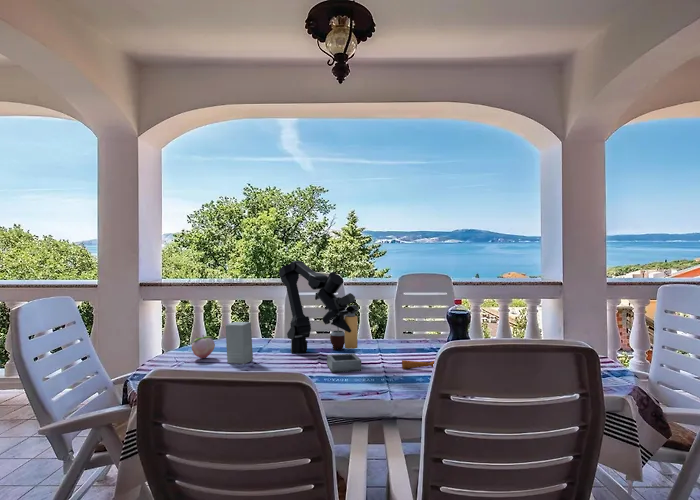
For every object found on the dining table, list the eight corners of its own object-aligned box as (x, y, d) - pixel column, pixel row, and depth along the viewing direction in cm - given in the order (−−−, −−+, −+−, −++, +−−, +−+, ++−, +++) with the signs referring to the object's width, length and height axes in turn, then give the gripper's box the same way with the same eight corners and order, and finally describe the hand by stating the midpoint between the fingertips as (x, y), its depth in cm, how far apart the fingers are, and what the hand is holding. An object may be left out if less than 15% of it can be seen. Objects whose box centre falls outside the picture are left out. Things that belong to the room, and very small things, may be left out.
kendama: (403, 356, 161) (456, 355, 157) (403, 372, 160) (457, 371, 156) (401, 357, 156) (456, 355, 151) (401, 373, 155) (457, 372, 150)
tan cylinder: (346, 349, 159) (346, 315, 159) (343, 346, 164) (343, 313, 164) (359, 348, 160) (359, 314, 160) (355, 345, 165) (355, 312, 165)
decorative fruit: (204, 355, 178) (205, 331, 179) (218, 357, 174) (218, 333, 174) (186, 359, 170) (186, 335, 171) (199, 362, 166) (199, 337, 166)
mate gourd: (339, 351, 185) (339, 317, 185) (325, 349, 190) (325, 316, 190) (349, 348, 191) (349, 315, 191) (335, 346, 196) (335, 314, 196)
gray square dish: (332, 373, 152) (332, 362, 152) (326, 365, 162) (326, 354, 162) (361, 371, 154) (361, 360, 154) (354, 363, 165) (354, 353, 165)
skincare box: (253, 360, 169) (253, 321, 169) (243, 365, 162) (243, 324, 162) (235, 359, 172) (235, 320, 172) (224, 363, 165) (224, 323, 165)
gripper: (329, 288, 156) (354, 320, 150) (354, 285, 172) (378, 314, 166) (312, 308, 160) (336, 340, 154) (338, 303, 176) (360, 332, 170)
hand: (354, 330), depth 161 cm, fingers closed on tan cylinder, 5 cm apart
